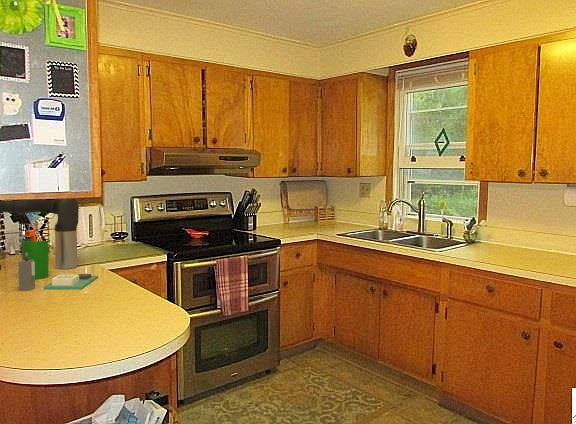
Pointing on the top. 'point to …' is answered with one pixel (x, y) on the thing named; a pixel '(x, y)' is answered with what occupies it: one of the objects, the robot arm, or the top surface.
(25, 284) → the plug
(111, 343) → the top surface
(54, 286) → the board
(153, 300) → the top surface
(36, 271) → the green pen holder
